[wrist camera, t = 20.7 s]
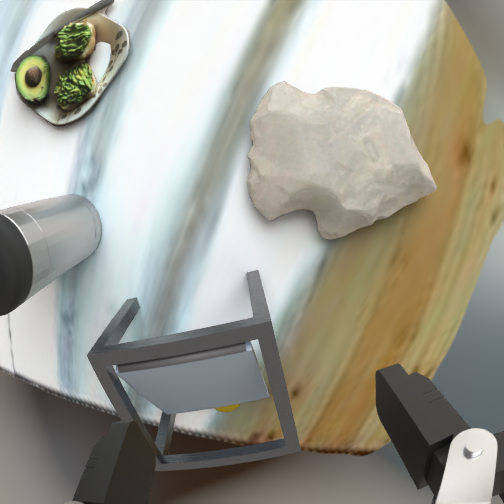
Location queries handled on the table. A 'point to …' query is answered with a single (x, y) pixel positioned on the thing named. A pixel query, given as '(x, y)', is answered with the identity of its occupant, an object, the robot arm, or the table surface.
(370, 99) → the rock
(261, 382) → the trapdoor
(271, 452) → the trapdoor frame
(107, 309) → the table surface
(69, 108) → the salad plate
